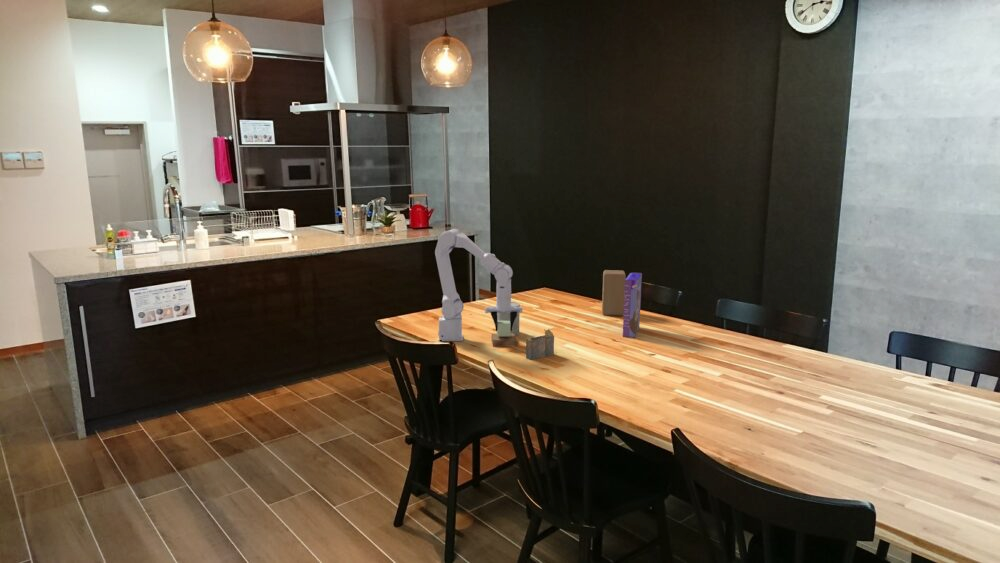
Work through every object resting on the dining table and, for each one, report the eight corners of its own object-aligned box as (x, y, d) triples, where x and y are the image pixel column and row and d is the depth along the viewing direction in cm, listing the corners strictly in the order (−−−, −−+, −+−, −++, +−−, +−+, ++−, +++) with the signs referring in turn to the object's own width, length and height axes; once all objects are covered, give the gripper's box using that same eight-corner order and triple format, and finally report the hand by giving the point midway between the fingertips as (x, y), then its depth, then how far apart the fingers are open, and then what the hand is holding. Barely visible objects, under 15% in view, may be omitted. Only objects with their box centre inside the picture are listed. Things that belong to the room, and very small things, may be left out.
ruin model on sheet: (548, 353, 237) (548, 328, 235) (553, 355, 234) (554, 330, 232) (525, 359, 230) (525, 333, 228) (530, 361, 228) (531, 335, 226)
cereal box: (634, 337, 256) (637, 280, 252) (622, 336, 258) (625, 279, 253) (639, 327, 272) (641, 272, 268) (628, 326, 274) (630, 272, 269)
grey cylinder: (520, 330, 266) (521, 302, 264) (518, 336, 257) (518, 307, 255) (498, 329, 268) (498, 301, 265) (495, 335, 258) (495, 306, 256)
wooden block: (601, 310, 302) (603, 269, 298) (623, 311, 300) (624, 270, 297) (602, 315, 292) (603, 273, 288) (624, 316, 291) (625, 273, 287)
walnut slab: (492, 346, 244) (492, 340, 243) (491, 339, 253) (491, 333, 252) (515, 345, 244) (515, 339, 244) (513, 339, 253) (513, 333, 253)
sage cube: (497, 336, 245) (497, 323, 244) (497, 332, 250) (497, 320, 249) (510, 336, 245) (510, 324, 244) (509, 332, 250) (509, 320, 249)
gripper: (485, 299, 241) (485, 333, 243) (523, 298, 242) (522, 332, 244) (484, 295, 247) (484, 328, 250) (521, 294, 248) (521, 327, 251)
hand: (503, 330), depth 248 cm, fingers closed on sage cube, 5 cm apart
